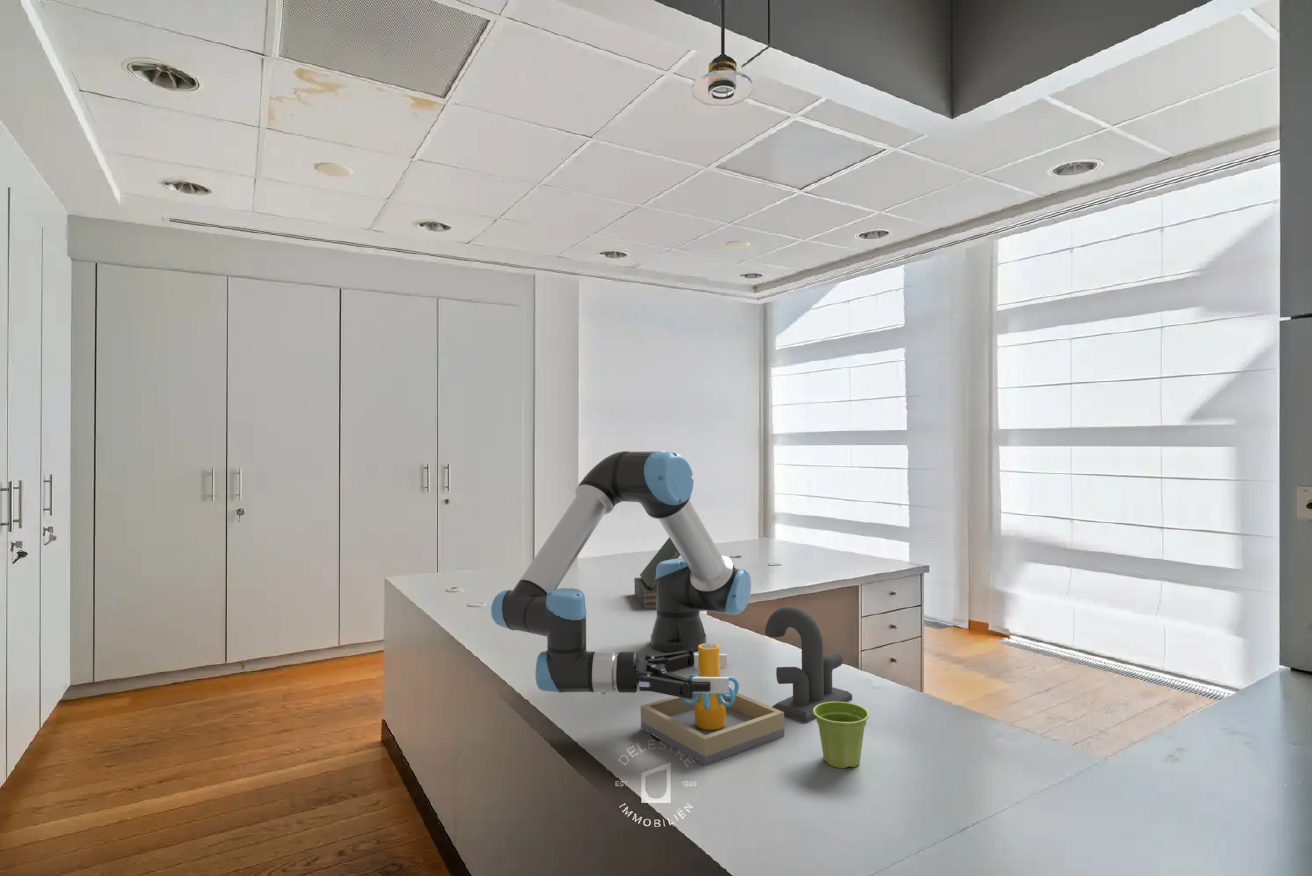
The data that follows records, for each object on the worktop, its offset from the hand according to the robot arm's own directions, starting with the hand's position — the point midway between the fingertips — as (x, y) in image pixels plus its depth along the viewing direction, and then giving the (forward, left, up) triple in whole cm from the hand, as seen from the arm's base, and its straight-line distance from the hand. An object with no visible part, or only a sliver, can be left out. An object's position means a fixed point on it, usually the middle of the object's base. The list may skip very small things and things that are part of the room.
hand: (727, 672), depth 138 cm
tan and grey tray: (+3, -2, -12) cm, 12 cm away
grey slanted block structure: (-56, -95, -12) cm, 111 cm away
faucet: (-22, -3, -12) cm, 26 cm away
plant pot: (-7, +21, -12) cm, 25 cm away
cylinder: (+3, -2, -10) cm, 11 cm away
